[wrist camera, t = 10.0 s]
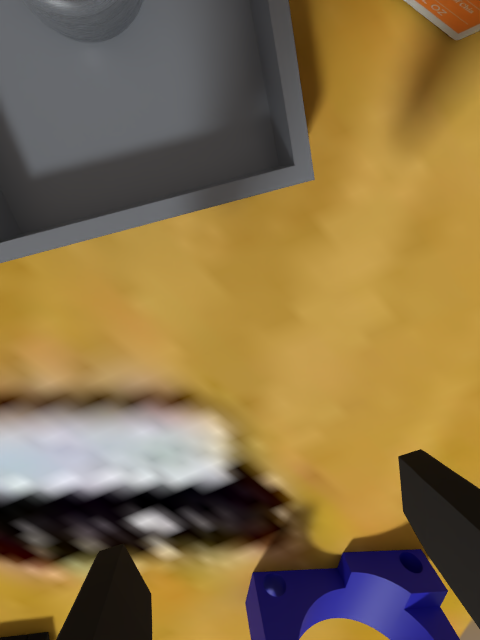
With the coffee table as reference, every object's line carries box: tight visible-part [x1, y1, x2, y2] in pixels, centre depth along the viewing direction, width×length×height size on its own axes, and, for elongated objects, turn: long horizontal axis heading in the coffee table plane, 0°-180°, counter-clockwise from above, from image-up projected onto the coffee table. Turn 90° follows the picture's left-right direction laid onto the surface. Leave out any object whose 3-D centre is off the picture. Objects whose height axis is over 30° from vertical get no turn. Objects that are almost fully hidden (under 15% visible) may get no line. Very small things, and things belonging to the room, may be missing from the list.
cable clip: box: [245, 549, 460, 640], centre depth 23 cm, size 12×4×6 cm, turn 81°
